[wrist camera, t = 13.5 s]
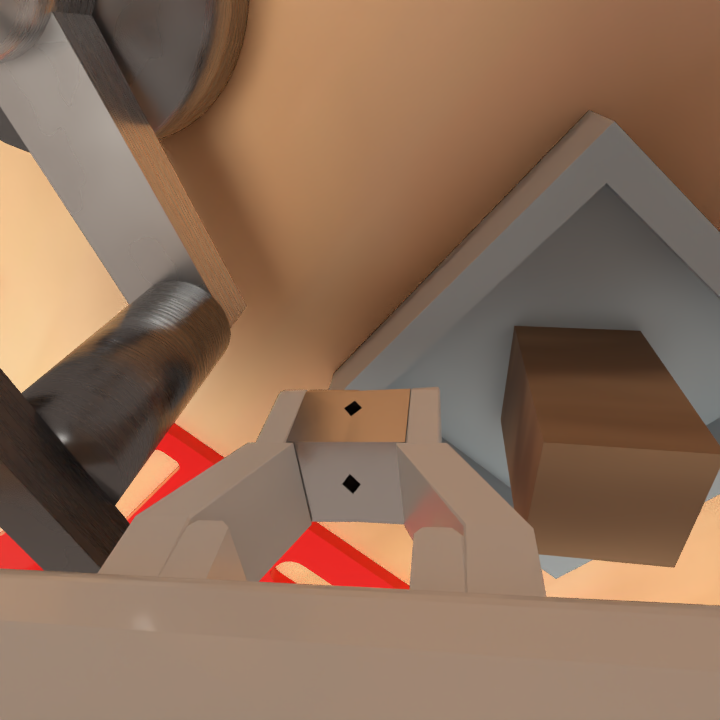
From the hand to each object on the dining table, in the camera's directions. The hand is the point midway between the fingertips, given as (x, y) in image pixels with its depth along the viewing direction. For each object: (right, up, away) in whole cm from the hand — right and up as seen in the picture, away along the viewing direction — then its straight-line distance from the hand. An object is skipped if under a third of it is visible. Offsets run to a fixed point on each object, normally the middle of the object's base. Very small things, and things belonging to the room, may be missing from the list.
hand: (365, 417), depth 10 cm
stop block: (+7, 0, +8) cm, 11 cm away
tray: (+7, +1, +9) cm, 11 cm away
